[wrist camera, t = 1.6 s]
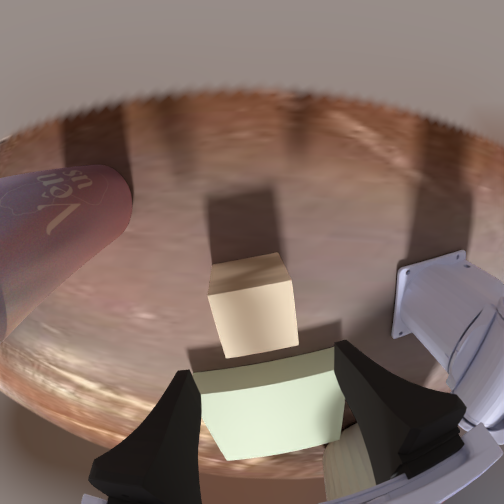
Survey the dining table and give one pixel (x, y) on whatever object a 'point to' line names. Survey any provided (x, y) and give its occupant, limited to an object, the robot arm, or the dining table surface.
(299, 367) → the green plinth
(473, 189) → the dining table surface
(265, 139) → the dining table surface
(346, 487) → the canister
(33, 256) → the beverage can
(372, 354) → the dining table surface
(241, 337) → the maple block
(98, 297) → the dining table surface
